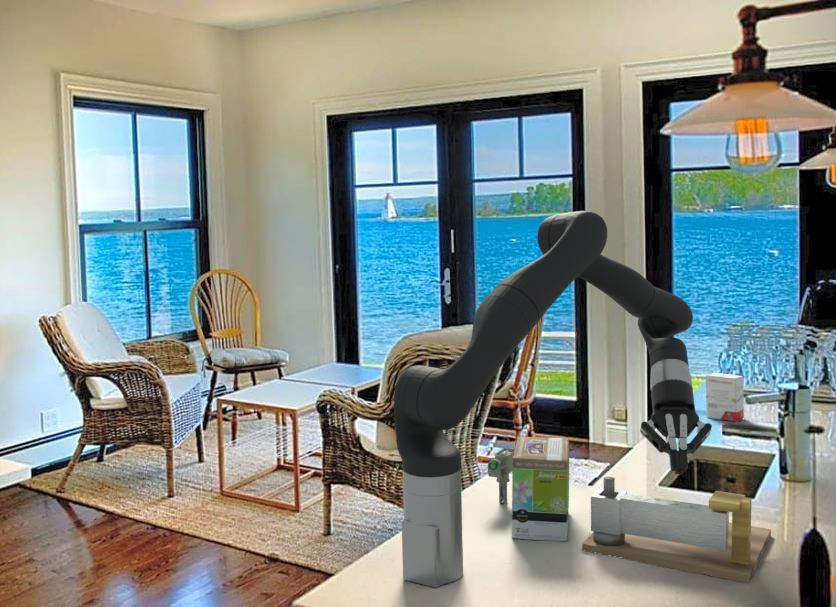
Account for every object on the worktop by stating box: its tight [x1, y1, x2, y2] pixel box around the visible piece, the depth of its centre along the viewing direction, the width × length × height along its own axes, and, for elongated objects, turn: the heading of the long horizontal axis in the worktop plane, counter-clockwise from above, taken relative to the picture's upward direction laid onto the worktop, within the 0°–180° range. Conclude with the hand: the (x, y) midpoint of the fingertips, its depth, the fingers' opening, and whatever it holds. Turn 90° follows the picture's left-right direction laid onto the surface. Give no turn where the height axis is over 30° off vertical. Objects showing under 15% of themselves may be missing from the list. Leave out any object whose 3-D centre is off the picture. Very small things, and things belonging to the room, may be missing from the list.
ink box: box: [705, 372, 745, 423], centre depth 225 cm, size 9×5×12 cm, turn 44°
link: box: [590, 487, 730, 551], centre depth 138 cm, size 21×5×6 cm, turn 61°
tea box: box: [511, 436, 570, 542], centre depth 152 cm, size 15×10×15 cm
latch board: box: [581, 476, 772, 584], centre depth 143 cm, size 21×26×12 cm
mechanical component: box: [487, 447, 515, 505], centre depth 164 cm, size 3×10×10 cm, turn 152°
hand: (679, 472), depth 147 cm, fingers closed
